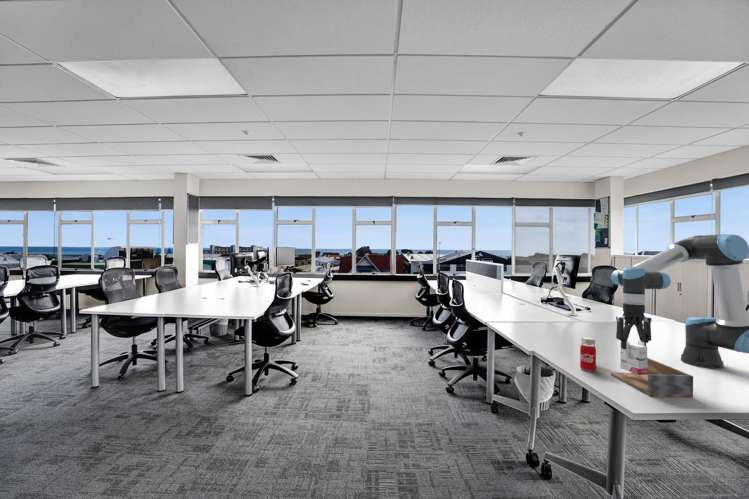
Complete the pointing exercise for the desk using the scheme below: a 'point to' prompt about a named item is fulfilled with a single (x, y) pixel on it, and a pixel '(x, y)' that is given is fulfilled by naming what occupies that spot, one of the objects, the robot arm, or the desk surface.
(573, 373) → the desk surface
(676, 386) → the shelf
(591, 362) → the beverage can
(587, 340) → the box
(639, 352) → the ink box
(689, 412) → the desk surface
